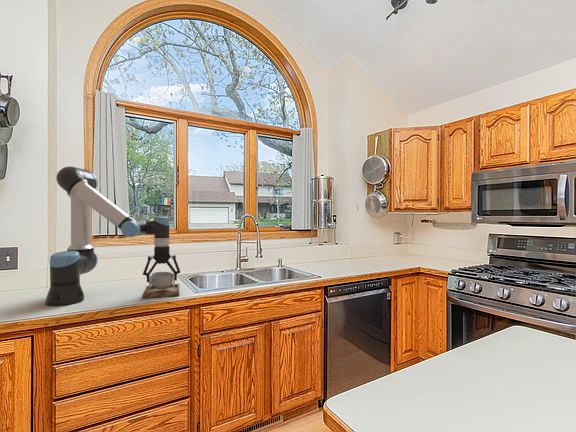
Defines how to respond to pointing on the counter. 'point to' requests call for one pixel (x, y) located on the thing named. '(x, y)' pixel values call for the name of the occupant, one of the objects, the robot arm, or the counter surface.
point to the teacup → (161, 280)
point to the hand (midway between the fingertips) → (162, 287)
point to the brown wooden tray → (161, 292)
